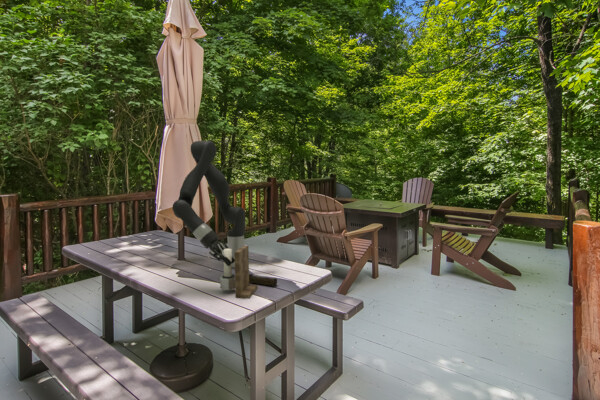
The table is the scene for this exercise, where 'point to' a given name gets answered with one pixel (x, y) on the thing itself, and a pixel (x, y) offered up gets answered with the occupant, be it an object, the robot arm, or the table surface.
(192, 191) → the robot arm
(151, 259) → the table surface
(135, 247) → the table surface
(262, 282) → the hand tool
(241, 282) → the wooden bookend
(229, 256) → the cream white cylinder
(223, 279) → the metal cup
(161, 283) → the table surface
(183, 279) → the table surface
